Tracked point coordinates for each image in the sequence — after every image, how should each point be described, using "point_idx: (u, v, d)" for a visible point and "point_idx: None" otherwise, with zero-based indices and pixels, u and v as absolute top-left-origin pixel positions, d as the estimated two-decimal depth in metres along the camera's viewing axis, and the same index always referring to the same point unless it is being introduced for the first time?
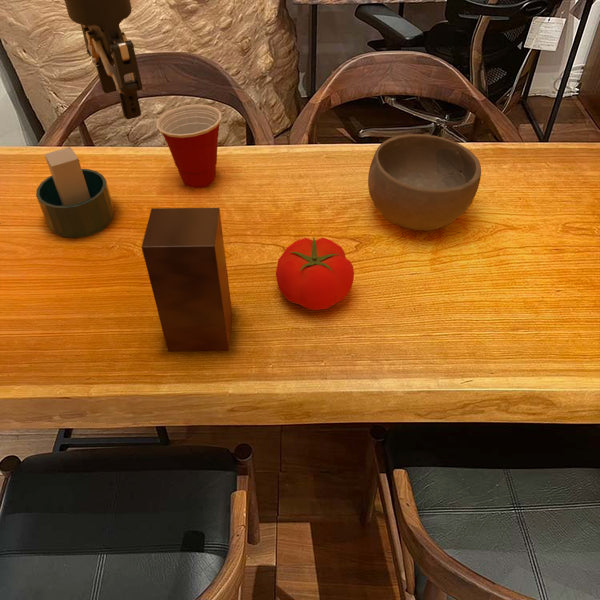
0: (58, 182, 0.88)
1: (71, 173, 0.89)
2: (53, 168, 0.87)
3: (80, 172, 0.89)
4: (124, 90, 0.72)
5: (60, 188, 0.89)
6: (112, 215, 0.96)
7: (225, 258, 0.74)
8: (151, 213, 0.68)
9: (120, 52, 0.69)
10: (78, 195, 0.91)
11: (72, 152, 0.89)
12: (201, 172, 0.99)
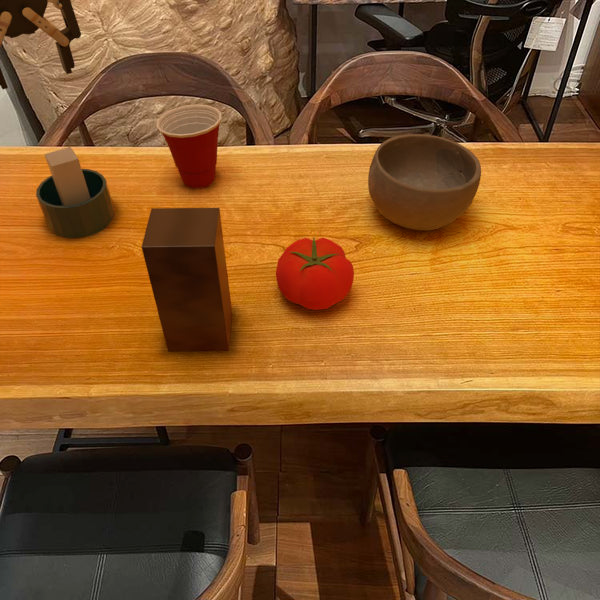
0: (58, 182, 0.88)
1: (71, 173, 0.89)
2: (53, 168, 0.87)
3: (80, 172, 0.89)
4: None
5: (60, 188, 0.89)
6: (112, 215, 0.96)
7: (225, 258, 0.74)
8: (151, 213, 0.68)
9: None
10: (78, 195, 0.91)
11: (72, 152, 0.89)
12: (201, 172, 0.99)
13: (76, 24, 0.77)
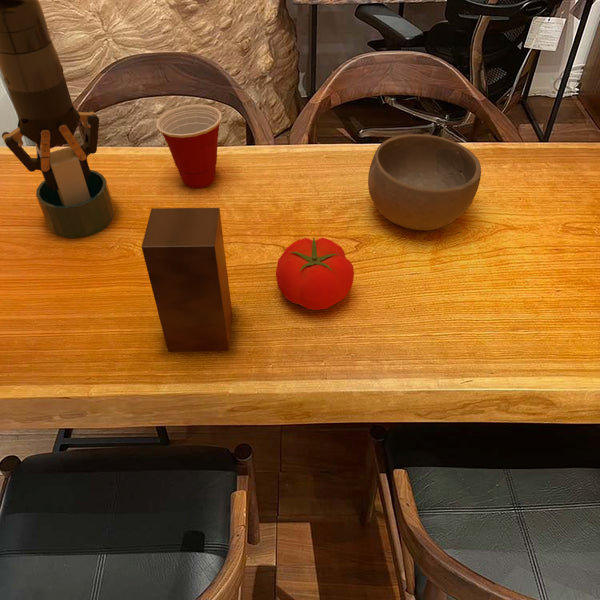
0: (58, 182, 0.88)
1: (71, 173, 0.89)
2: (53, 168, 0.87)
3: (80, 172, 0.89)
4: None
5: (60, 188, 0.89)
6: (112, 215, 0.96)
7: (225, 258, 0.74)
8: (151, 213, 0.68)
9: None
10: (78, 195, 0.91)
11: (72, 152, 0.89)
12: (201, 172, 0.99)
13: (96, 143, 0.89)
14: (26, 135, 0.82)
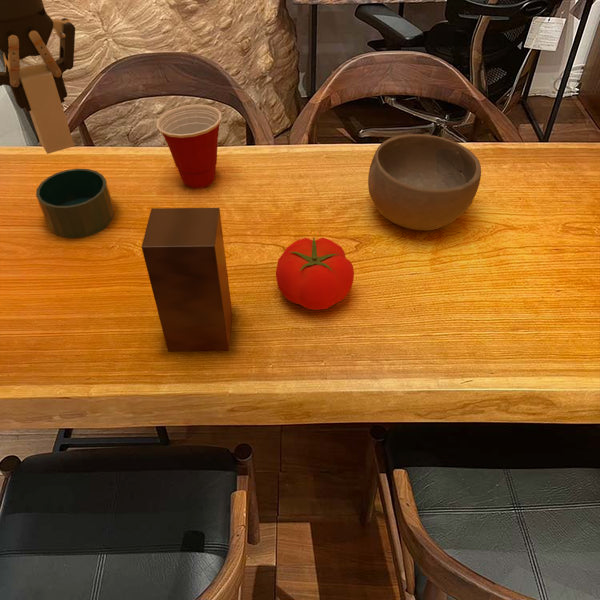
0: (30, 100, 0.79)
1: (44, 90, 0.79)
2: (23, 83, 0.77)
3: (55, 90, 0.80)
4: None
5: (32, 108, 0.80)
6: (112, 215, 0.96)
7: (225, 258, 0.74)
8: (151, 213, 0.68)
9: None
10: (53, 117, 0.82)
11: (46, 68, 0.80)
12: (201, 172, 0.99)
13: (72, 57, 0.79)
14: None
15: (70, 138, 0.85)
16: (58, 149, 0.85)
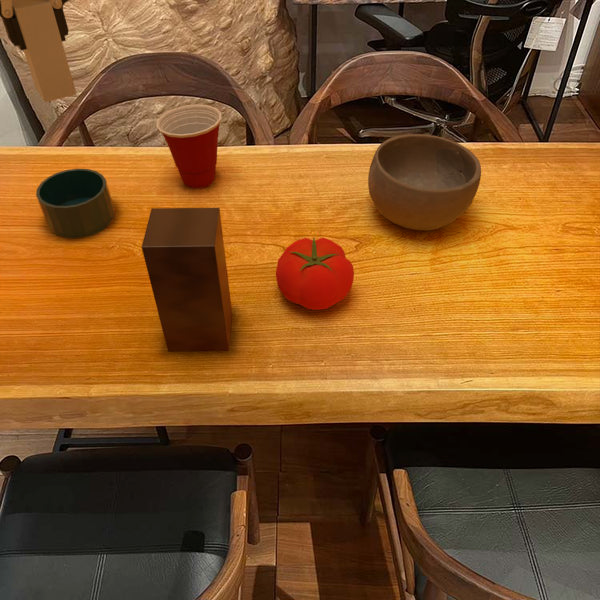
0: (25, 35, 0.67)
1: (42, 23, 0.68)
2: (17, 12, 0.66)
3: (54, 24, 0.68)
4: None
5: (28, 45, 0.68)
6: (112, 215, 0.96)
7: (225, 258, 0.74)
8: (151, 213, 0.68)
9: None
10: (52, 58, 0.70)
11: None
12: (201, 172, 0.99)
13: None
14: None
15: (72, 84, 0.73)
16: (58, 97, 0.73)
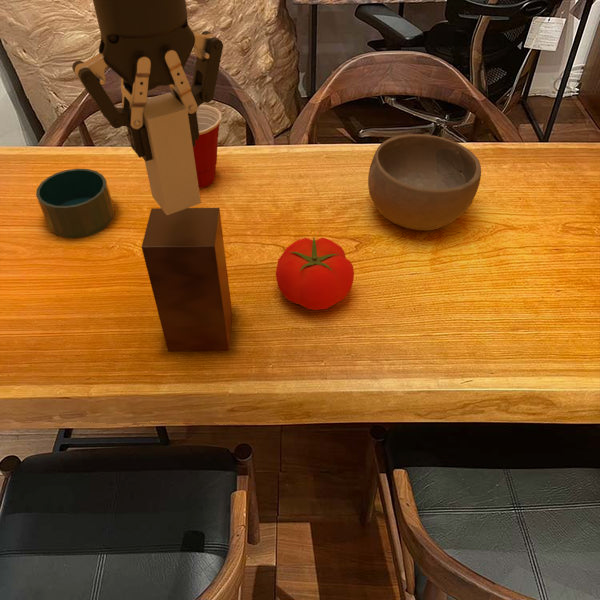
0: (154, 147, 0.56)
1: (175, 132, 0.56)
2: (150, 123, 0.54)
3: (187, 131, 0.57)
4: (103, 114, 0.54)
5: (156, 156, 0.57)
6: (112, 215, 0.96)
7: (225, 258, 0.74)
8: (151, 213, 0.68)
9: None
10: (180, 168, 0.59)
11: (175, 100, 0.57)
12: (201, 172, 0.99)
13: (213, 85, 0.56)
14: (112, 65, 0.50)
15: (197, 193, 0.62)
16: (181, 208, 0.62)
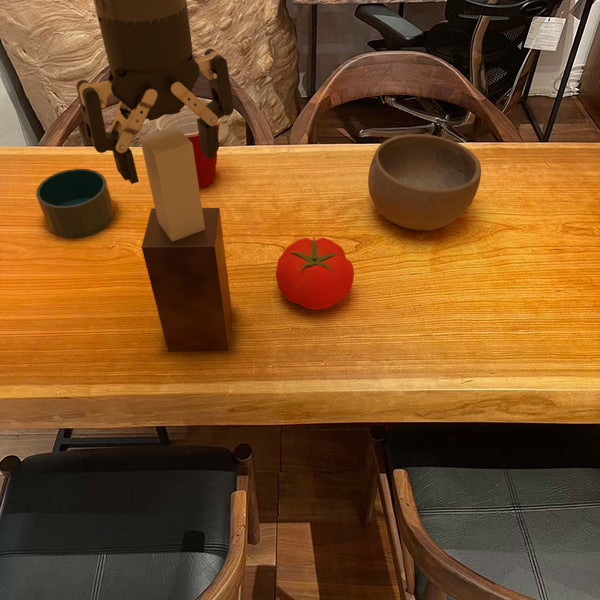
0: (161, 179, 0.59)
1: (180, 164, 0.59)
2: (156, 157, 0.57)
3: (192, 164, 0.59)
4: None
5: (162, 188, 0.59)
6: (112, 215, 0.96)
7: (225, 258, 0.74)
8: (151, 213, 0.68)
9: (79, 94, 0.52)
10: (185, 197, 0.62)
11: (181, 133, 0.59)
12: (201, 172, 0.99)
13: (230, 98, 0.58)
14: (121, 97, 0.52)
15: (201, 220, 0.65)
16: (186, 234, 0.65)
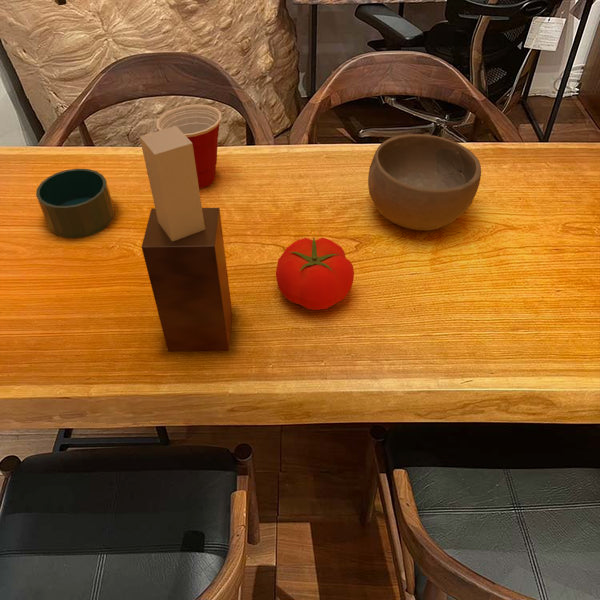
0: (161, 179, 0.59)
1: (180, 164, 0.59)
2: (156, 157, 0.57)
3: (192, 164, 0.59)
4: None
5: (162, 188, 0.59)
6: (112, 215, 0.96)
7: (225, 258, 0.74)
8: (151, 213, 0.68)
9: None
10: (185, 197, 0.62)
11: (181, 133, 0.59)
12: (201, 172, 0.99)
13: None
14: None
15: (201, 220, 0.65)
16: (186, 234, 0.65)
